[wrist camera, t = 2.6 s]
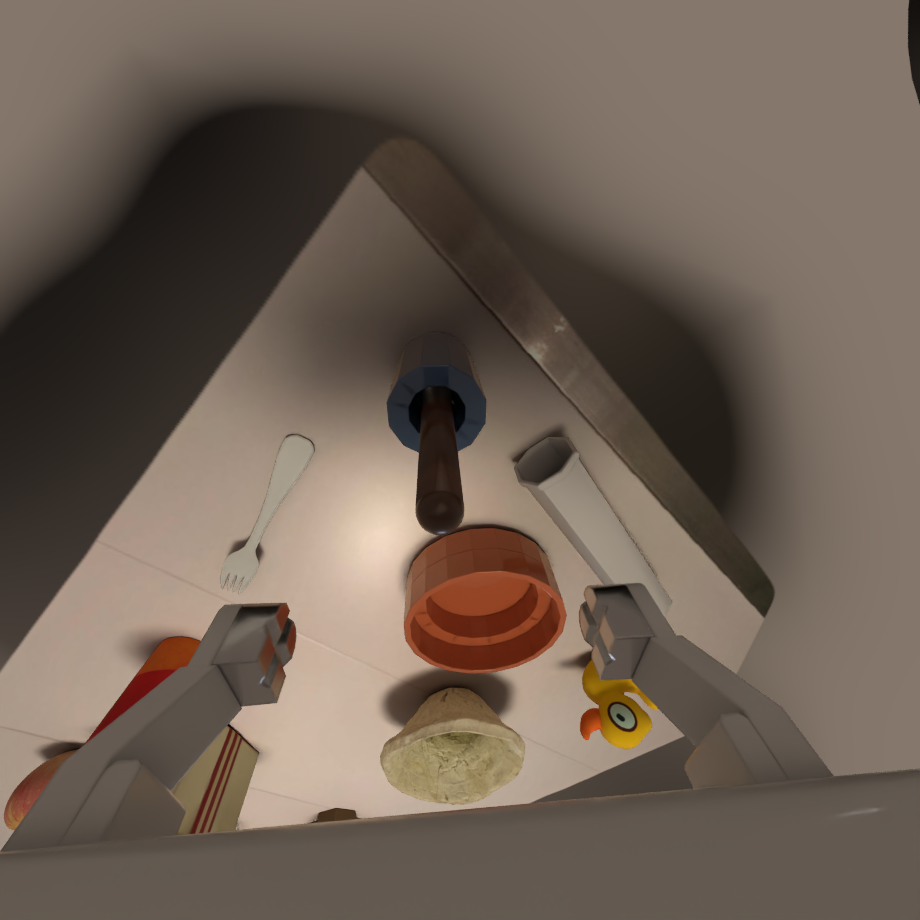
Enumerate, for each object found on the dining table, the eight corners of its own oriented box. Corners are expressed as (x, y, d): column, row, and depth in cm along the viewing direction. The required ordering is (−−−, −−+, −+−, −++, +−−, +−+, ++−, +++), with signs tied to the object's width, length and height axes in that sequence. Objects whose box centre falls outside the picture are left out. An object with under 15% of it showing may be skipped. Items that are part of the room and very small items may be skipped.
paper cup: (201, 676, 46) (121, 830, 34) (136, 653, 43) (23, 814, 31) (234, 648, 44) (160, 803, 32) (168, 621, 41) (58, 782, 29)
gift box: (188, 777, 60) (109, 953, 46) (102, 726, 51) (-32, 926, 36) (285, 757, 59) (237, 932, 44) (217, 701, 49) (125, 899, 35)
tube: (690, 609, 39) (588, 447, 28) (653, 644, 39) (535, 495, 27) (650, 578, 44) (549, 428, 32) (617, 609, 44) (504, 470, 32)
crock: (473, 331, 27) (488, 364, 20) (472, 403, 30) (484, 454, 23) (395, 331, 26) (382, 365, 20) (401, 405, 29) (392, 457, 23)
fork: (326, 434, 33) (319, 446, 30) (244, 595, 39) (233, 616, 37) (294, 419, 32) (285, 431, 29) (216, 586, 38) (203, 607, 36)
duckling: (558, 673, 51) (583, 761, 43) (561, 650, 48) (589, 740, 40) (640, 665, 51) (681, 751, 43) (647, 641, 49) (693, 729, 40)
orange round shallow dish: (558, 521, 37) (578, 567, 32) (540, 618, 45) (554, 668, 40) (402, 527, 36) (398, 576, 31) (412, 625, 44) (409, 677, 39)
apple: (33, 752, 53) (-26, 828, 46) (74, 734, 51) (19, 811, 44) (91, 772, 57) (45, 845, 50) (132, 756, 56) (89, 829, 49)
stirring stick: (448, 360, 27) (466, 505, 13) (448, 383, 28) (465, 544, 14) (423, 360, 27) (413, 507, 13) (424, 384, 28) (416, 546, 13)
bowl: (429, 696, 60) (352, 753, 49) (495, 646, 52) (421, 701, 41) (478, 790, 55) (403, 880, 43) (561, 751, 46) (495, 850, 35)
